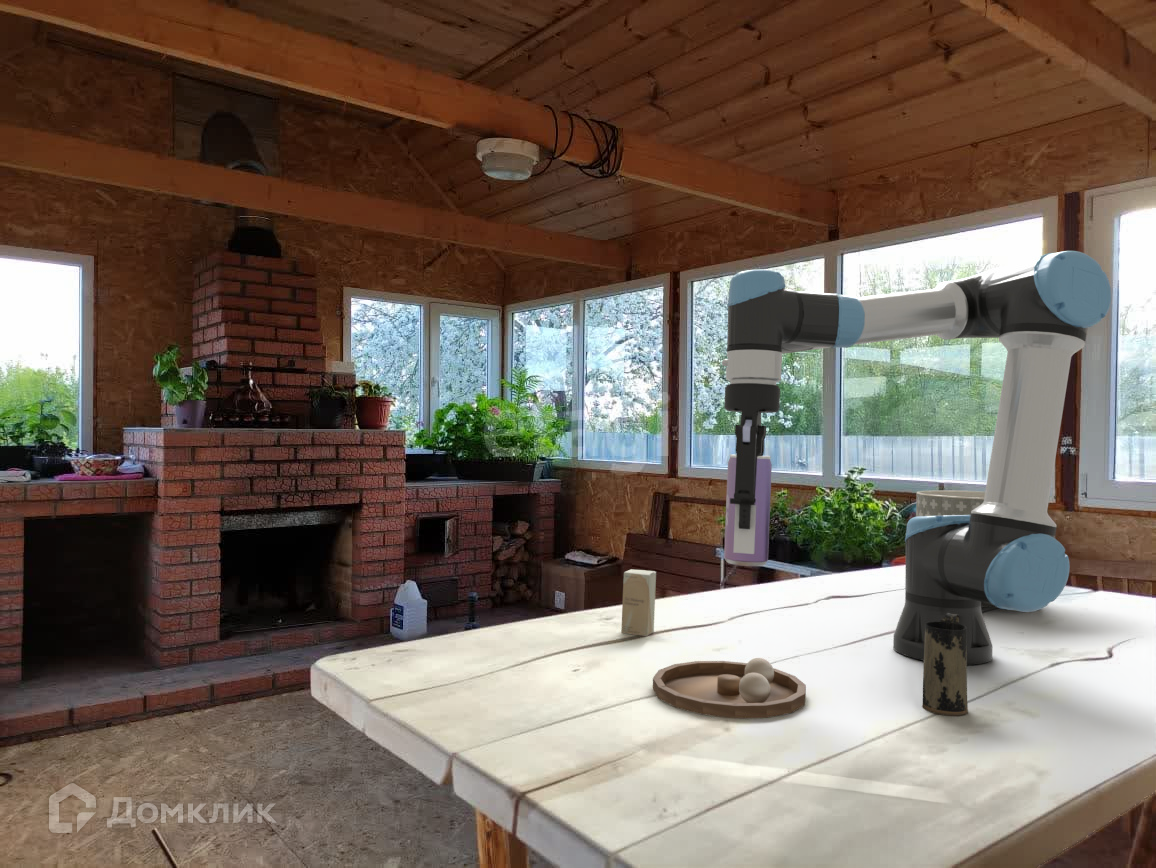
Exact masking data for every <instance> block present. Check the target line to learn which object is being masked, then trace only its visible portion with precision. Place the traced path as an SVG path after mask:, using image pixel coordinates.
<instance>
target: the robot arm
mask: <svg viewBox="0 0 1156 868" xmlns="http://www.w3.org/2000/svg"><path fill="white" fill-rule="evenodd" d="M785 282H786V280H785V276H784V274H783V273H782V272H779V271H775V270H771V269H750V270H749V269H748V270H742V271H739V272H737V273H735V274H734V275H733V276H732V277H731V279H730V284H729V288H728V289H729V291H728V298H727V299H728V300H727V344H726V345H727V346H726V357H727V358H724V359H722V361H721V365H722V366H723V367H726V369H725V380H727V381H728V382H730V383H729V384H727V385H726V386H725V387H724V403H723V404H724V407H723V408H724V410H725V411H727V412H731V413H741V414H740V421H739V422H740V424H735V428H734V435H735V437H736V438H735V453H736V454H735V455H736V477H735V494H734V498H730V504H735V525H734V551H733V553H746V554H754V548H755V522H756V505H754V504H755V503H756V499H755V490H756V472H757V457H758V456H764V453H765V439H766V435H767V426H765V425H762V414H763V413H764V414H771V413H772V414H774V413H778V412H779V410H780V406H781V402H780V401H781V388H780V386H779V385H777V383H779V382H780V381H781V380H782V365H783V363H782V361H783V360H782V359H783V355H784V354H789V353H791V354H793V353H799V352H806V351H813V350H822V349H830V348H831V349H836V348H840V349H841V348H845V349H846V348H851V347H852V346H855V345H862V344H869V343H870V344H871V343H872V344H873V343H880V342H889V341H895V340H903V339H904V340H905V339H911V338H921V337H929V336H937V337H938V338H940V339H943V340H956V339H957V340H958V339H975V338H976V339H980V338H981V339H983V338H984V339H985V338H986V339H998V341H999V342H1000V343H1001V344H1002V346H1003V347H1004V348H1005V350H1006V351H1007V354H1006V360H1005V367H1004V373H1003V377H1002V378H1003V379H1002V384H1001V392H1000V398H999V403H998V409H997V410H998V411H997V414H996V415H997V417H996V421H995V422H996V424H995V429H994V435H993V441H992V448H991V453H990V461H989V467H988V471H987V472H988V473H987V478H986V484H985V485H986V486H985V490H984V492H985V497H984V502H983V503H982V504H981V505H980V506H978V507H977V508H975V509H974V510H972V511H971V515H945V516H919V517H916V516H914V517H911V518H910V519H909V520H908V522H907V524H906V530H905V538H904V542H905V577H904V578H905V580H904V581H905V583H904V584H905V586H904V587H905V588H904V589H905V592H904V593H905V595H904V596H905V599H904V606H903V609H902V611H901V615H900V617H899V620H898V622H897V624H896V628H895V630H894V633H893V645H892V646H893V650H894V651H896V652H897V653H899V654H901V655H904V656H906V657H908V658H909V657H910V658H912V659H917V660H921V661H924V645H925V628H926V623H928V622H940V620H941V619H943V618H944V617H945V616H946V614H947V613H950V614H958V616H959V623H960V625H963V626H965V627H967V666H968V665H970V666H971V665H980V664H986V663H989V662H991V661H992V660H993V642H992V640H991V637H990V634H989V630H988V627H987V625H986V622H985V621H986V620H985V619H984V615H983V612H982V607H981V602H985V603H988V604H992V605H995V606H996V607H995V608H998V609H1001V610H1007V611H1016V612H1021V613H1022V612H1023V613H1030V612H1037V611H1040V610H1042V609H1044V608H1046V607H1048V605H1049V604H1050V603H1051V602H1053V603H1054V601H1056V600H1057V599H1058V598H1059V596H1060V595H1061V594H1062V592H1063V591H1064V589H1065V587H1066V585H1067V583H1068V580H1069V576H1070V568H1071V567H1070V559H1069V556H1068V554H1066V553H1065V552H1066V548H1065V547H1064V545H1063V544H1062V543H1061V542H1060V541H1059V540H1057V539H1056V533H1057V526H1058V525H1057V524H1056V523H1055V521H1054V520H1053V519H1052V518H1051V516H1050V515H1049V513H1048V507H1049V501H1050V494H1051V489H1052V483H1053V477H1054V476H1053V475H1054V470H1055V469H1054V468H1055V463H1056V455H1057V450H1058V444H1059V437H1060V430H1061V425H1062V418H1063V411H1064V407H1065V400H1066V399H1065V398H1066V392H1067V386H1068V380H1069V373H1070V367H1071V362H1072V361H1071V360H1072V357H1073V355H1074V354H1075V353H1077V352H1079V351H1080V350H1082V349H1083V348H1084V347H1085V346H1086V340H1087V335H1088V328H1092V327H1094V326H1095V325H1097V324H1098V323H1100V322H1101V321H1102V320H1103V319H1104V318H1105V317H1106V316H1107V314H1109V313H1108V312H1109V310H1110V307H1111V303H1112V288H1111V284H1110V280H1109V278H1108V275H1107V274H1106V272H1105V271H1103V269H1102V266H1101V264H1099V262H1098V261H1097V260H1095V258H1094V257H1091V256H1089V255H1088V254H1087V253H1085V252H1081V251H1078V250H1064V251H1059V252H1049V253H1045V254H1043V255H1040V256H1038V257H1034V258H1032V259H1031V258H1030V259H1026V260H1023V261H1019V262H1016V263H1011V264H1007V265H1003V266H999V267H996V268H991V269H990V270H987V271H984V272H980V273H977V274H974V275H971V276H969V277H965V278H960V279H956V280H949V281H943V282H939V283H938V284H937V285H936V286H934V287H933V288H932V289H925V290H924V289H923V290H914V291H906V292H905V291H904V292H896V293H889V294H888V293H887V294H885V293H884V294H878V295H870V296H867V295H866V296H861V297H855V296H851V295H845V294H840V293H838V292H835V293H827V292H815V291H802V290H794V289H789V288H786V283H785Z"/></svg>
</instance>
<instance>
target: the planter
mask: <svg viewBox="0 0 1156 868" xmlns="http://www.w3.org/2000/svg"><path fill="white" fill-rule="evenodd" d="M984 497H985V491H984V490H983V491H982V490H981V491H980V490H978V491H977V490H941V489H940V490H920V491H916V500H915V501H916V507H915V508H916V509H915V514H916V515H915V517H919V516H945V515H971V511H972V510H974V509H975V508H977V507H978V506H980V505H981V504H982V503H983V502H984ZM981 608H997V607H996V606H995V605H992V604H988V603H985V602H981Z"/></svg>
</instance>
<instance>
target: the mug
mask: <svg viewBox="0 0 1156 868" xmlns="http://www.w3.org/2000/svg"><path fill="white" fill-rule="evenodd" d="M967 669H968V665H967V627H965V626H963V625H960V623H959V616H958V614H950V613H947V614H946V616H945V617H944V618H943V619H941V620H940V622H928V623H926V628H925V645H924V660H923V673H922V674H923V675H922V706H921V707H922V708H923V709H924V710H925V711H927V712H930V713H933V714H935V715H941V716H946V717H963V716H966V715H968V714H969V709H968V708H969V706H968V704H969V703H968V672H967V671H968V670H967Z"/></svg>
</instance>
